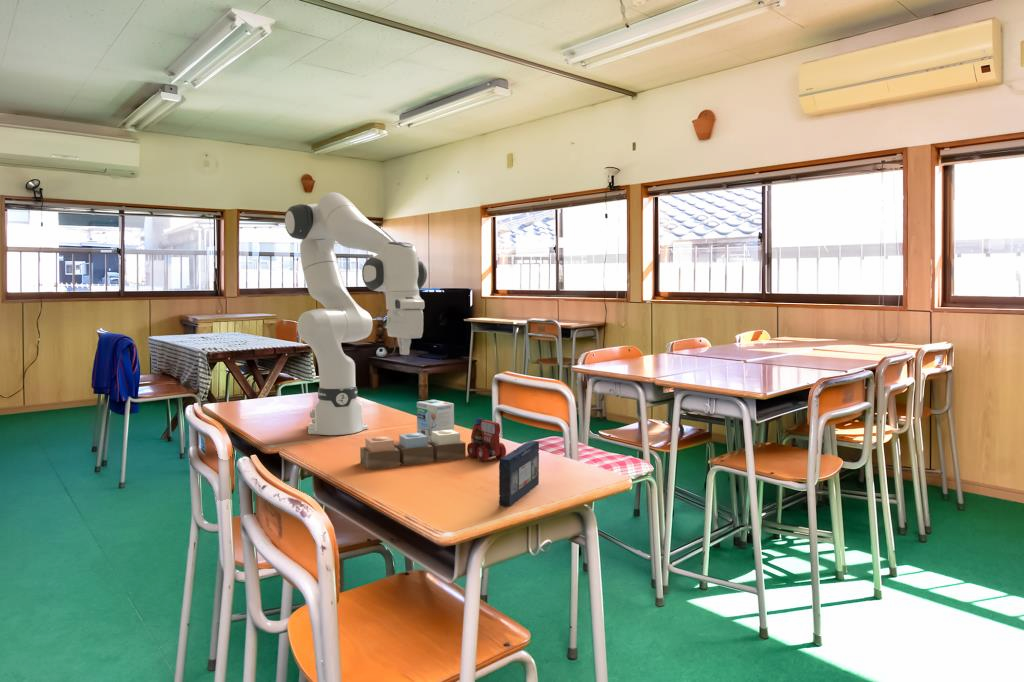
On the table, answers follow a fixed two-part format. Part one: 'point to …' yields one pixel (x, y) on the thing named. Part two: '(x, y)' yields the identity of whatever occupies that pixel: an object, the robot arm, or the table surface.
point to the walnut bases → (412, 455)
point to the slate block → (413, 440)
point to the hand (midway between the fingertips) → (404, 354)
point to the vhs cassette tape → (518, 473)
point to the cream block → (445, 437)
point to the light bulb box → (434, 416)
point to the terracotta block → (379, 444)
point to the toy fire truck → (485, 441)
